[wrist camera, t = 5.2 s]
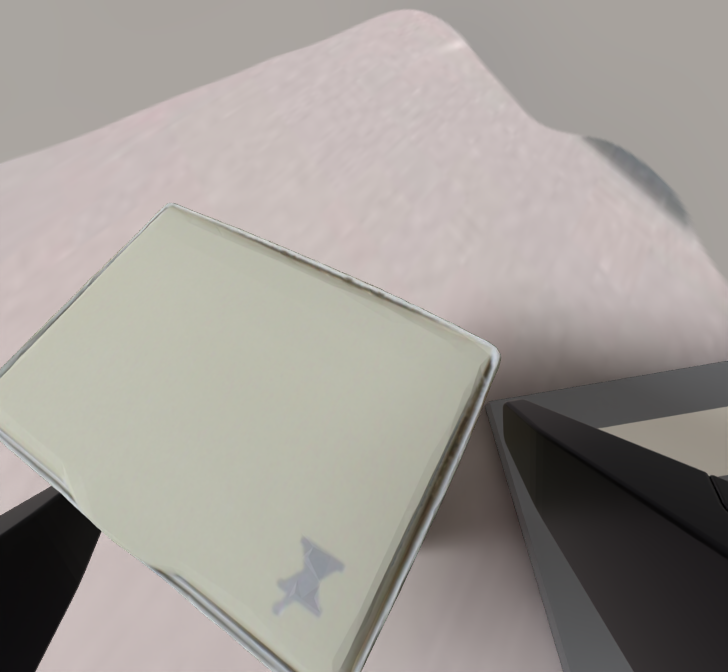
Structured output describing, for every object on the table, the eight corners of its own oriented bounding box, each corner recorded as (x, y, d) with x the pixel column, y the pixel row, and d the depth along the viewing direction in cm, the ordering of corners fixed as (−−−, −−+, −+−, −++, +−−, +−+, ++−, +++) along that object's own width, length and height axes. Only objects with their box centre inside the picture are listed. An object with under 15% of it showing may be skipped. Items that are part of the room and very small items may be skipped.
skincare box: (436, 458, 16) (541, 352, 5) (386, 561, 14) (364, 772, 3) (310, 387, 17) (163, 182, 6) (255, 473, 16) (-63, 406, 5)
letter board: (1073, 865, 10) (1127, 894, 9) (642, 938, 10) (662, 973, 9) (752, 360, 16) (769, 353, 16) (485, 406, 16) (489, 401, 16)
